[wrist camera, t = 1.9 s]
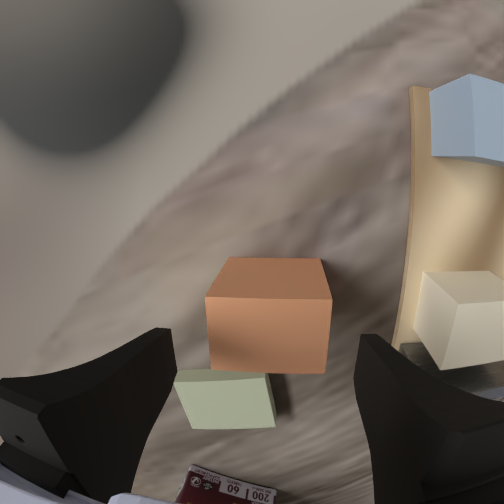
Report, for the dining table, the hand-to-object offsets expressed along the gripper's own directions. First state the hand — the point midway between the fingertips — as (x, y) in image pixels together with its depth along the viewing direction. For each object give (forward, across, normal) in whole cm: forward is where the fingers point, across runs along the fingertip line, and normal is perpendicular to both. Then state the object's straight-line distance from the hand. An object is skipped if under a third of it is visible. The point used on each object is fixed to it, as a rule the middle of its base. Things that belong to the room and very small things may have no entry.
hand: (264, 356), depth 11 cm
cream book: (+6, -11, 0) cm, 13 cm away
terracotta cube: (+7, 0, 0) cm, 7 cm away
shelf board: (+7, -14, -3) cm, 15 cm away
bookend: (+6, -11, +4) cm, 13 cm away
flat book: (+7, +3, +8) cm, 11 cm away
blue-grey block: (+6, -11, -10) cm, 16 cm away
